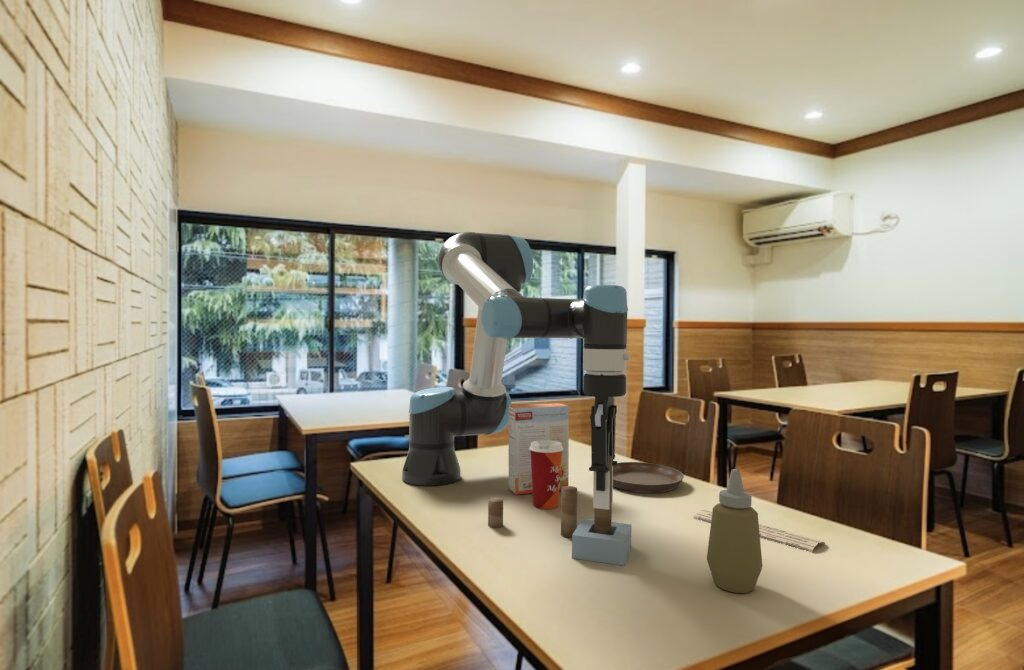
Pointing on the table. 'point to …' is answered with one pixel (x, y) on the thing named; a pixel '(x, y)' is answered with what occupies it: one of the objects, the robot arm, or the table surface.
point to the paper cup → (546, 473)
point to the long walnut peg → (604, 511)
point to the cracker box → (530, 427)
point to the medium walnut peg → (568, 511)
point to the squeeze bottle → (734, 539)
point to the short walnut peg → (495, 513)
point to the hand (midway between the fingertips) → (603, 504)
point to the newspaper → (773, 534)
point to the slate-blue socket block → (601, 543)
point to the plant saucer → (645, 477)
